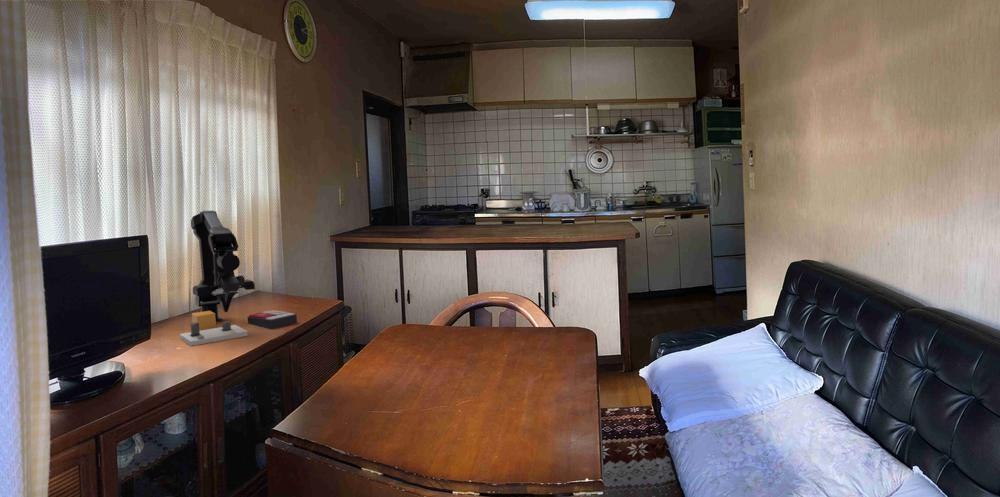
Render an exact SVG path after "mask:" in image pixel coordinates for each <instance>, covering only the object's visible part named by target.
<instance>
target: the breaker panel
mask: <svg viewBox="0 0 1000 497" xmlns="http://www.w3.org/2000/svg"><path fill="white" fill-rule="evenodd" d="M248 336H249V333H248V330H246V329H244V328H242V327H241V326H238V325H236V324H231V330H229V331H223V328H222V326H220V327H216V328H213V329H207V330H201V331H200V335H198V336H191V331H190V332H185V333H180V334H179V339H180V340H182V342H184V343H186V345H189V347H193V346H199V345H205V344H208V343H214V342H220V341H226V340H231V339H237V338H241V337H242V338H243V337H248Z"/></svg>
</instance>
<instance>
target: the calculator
mask: <svg viewBox="0 0 1000 497" xmlns="http://www.w3.org/2000/svg"><path fill="white" fill-rule="evenodd" d="M246 319H247V324H249V325H252V326H257V327H262V328H265V329H269V330H274V329H278V328H279V329H280V328H282V327H283V328H284V327H288V326H291V325H295V324H298V317H297V314H295V313H294V312H288V311H281V310H273V309H272V310H271V309H270V310H267V311H262V312H257V313H252V314H249V315H248V316H247V317H246Z"/></svg>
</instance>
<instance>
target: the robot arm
mask: <svg viewBox="0 0 1000 497" xmlns="http://www.w3.org/2000/svg"><path fill="white" fill-rule="evenodd" d="M190 226H191V229H192V230H193V234H194V236H195V237H196V238H197V240H198V244H199V246H198V248H199V255H200V256H199V257H200V269H201V280H200V281H199V283H198V285H194V286H193V287H192V294H193V295H195V299H194V300H195V305H196V306H197V307H199V308H200V307H201V308H200V310H201V311H200V312H204V311H211V312H213V313H215V317H216V322H218V321H222V320H223V318H222V317H219V315H220V314H219V305H221V308H222V310H223V312H224V313H228V312H229V309H230V306H231V303H232V300H233V298H234V296H235V295H237V294H239V290H240V289H244V290H246V291H249V290H255V289H256V284H255V282H254V281H253V280H251V279H245V276H244V275H237V276H236V275H235V271H236V270H237V269H238V268H239V267H240V264H241V260H240V258H239V256H238V255H236V254H234V252H238V250H239V244H238V240H237V238H236V236H235V234H234V233H233V231H231V230H230V229H229V228H227V227H225V226H223V224H222V222H221V221H220V219H219V217H218V213H217V211H216V210H202V211H200V212H199V213H198V214H195V215H193V216H192V217H191V220H190Z"/></svg>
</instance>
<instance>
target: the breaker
mask: <svg viewBox="0 0 1000 497" xmlns="http://www.w3.org/2000/svg"><path fill="white" fill-rule="evenodd" d="M190 332H191V336H198V335H200V328H199V323H192V322H191V323H190Z"/></svg>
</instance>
